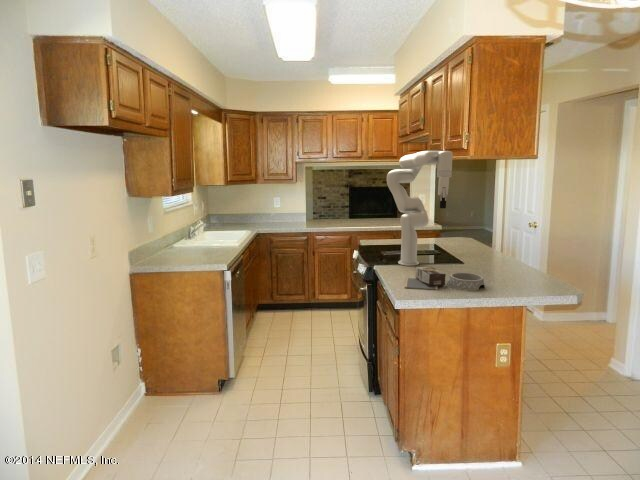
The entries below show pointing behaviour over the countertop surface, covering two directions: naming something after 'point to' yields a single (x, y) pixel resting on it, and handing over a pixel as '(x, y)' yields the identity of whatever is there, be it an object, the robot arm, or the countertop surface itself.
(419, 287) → the mat
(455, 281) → the dog bowl
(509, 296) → the countertop surface
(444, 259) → the countertop surface
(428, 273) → the coffee box
